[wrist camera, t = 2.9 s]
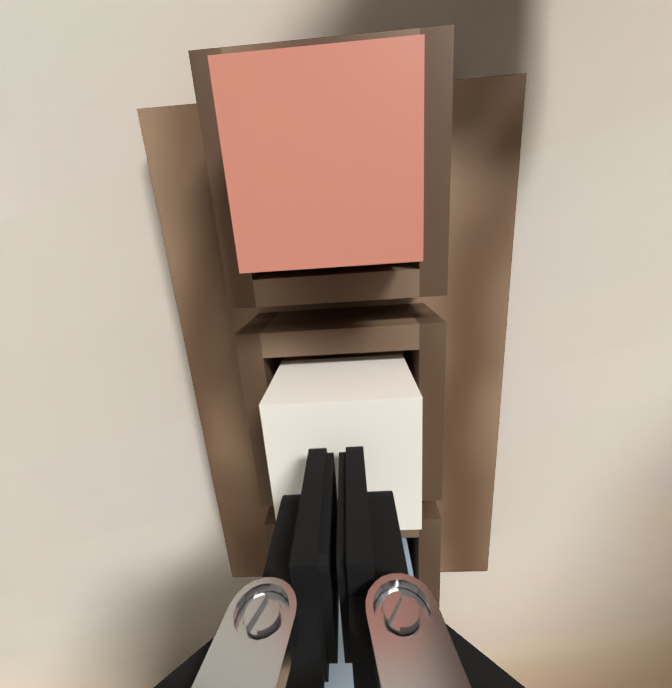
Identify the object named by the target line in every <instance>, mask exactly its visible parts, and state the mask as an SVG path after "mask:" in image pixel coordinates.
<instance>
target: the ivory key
mask: <svg viewBox="0 0 672 688" xmlns="http://www.w3.org/2000/svg"><path fill="white" fill-rule="evenodd" d="M422 405H423V397H422V395H421V393H420V391H419V389H418V387H417V384H416V382H415V380H414V378H413V376H412V374H411V372H410V370H409V368H408V365H407V363H406V361H405V359H404V357H403V355H402V354H398V355H380V356H362V357H343V358H325V359H307V360H288V361H282V362H281V364H280V366H279V368H278V369H277V371H276V373H275V375H274V377H273V379H272V381H271V383H270V385H269V387H268V389H267V390H266V392H265V394H264V396H263V398H262V400H261V402H260V404H259V409H260V416H261V423H262V430H263V437H264V443H265V450H266V457H267V464H268V471H269V477H270V484H271V491H272V498H273V504H274V511H275V518H276V519H277V515H278V511H279V506H280V502H281V499H282V496H283V495H295V494H301V491H302V485H303V479H304V473H305V467H306V461H307V456H308V450H309V449H313V448H327V453H332V452H333V453H334V462H335V474H336V486H337V499H338V469H339V452H346V447H356V446H363V450H364V461H365V472H366V483H367V492H369V491H392V492H393V496H394V501H395V506H396V511H397V516H398V521H399V527H400V530H420V529H422Z"/></svg>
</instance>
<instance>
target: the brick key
mask: <svg viewBox="0 0 672 688" xmlns="http://www.w3.org/2000/svg"><path fill="white" fill-rule="evenodd" d="M424 52H425V34H421V35H411V36H400V37H390V38H380V39H370V40H360V41H350V42H339V43H329V44H319V45H309V46H299V47H288V48H278V49H268V50H258V51H248V52H238V53H227V54H217V55H207V56H208V63H209V70H210V77H211V83H212V90H213V97H214V104H215V111H216V117H217V124H218V131H219V138H220V145H221V151H222V158H223V165H224V172H225V179H226V185H227V192H228V199H229V206H230V212H231V219H232V226H233V233H234V240H235V246H236V253H237V260H238V267H239V274H240V273H255V272H270V271H285V270H300V269H315V268H330V267H344V266H359V265H374V264H389V263H404V262H419V261H423V229H424Z"/></svg>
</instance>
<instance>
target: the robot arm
mask: <svg viewBox="0 0 672 688" xmlns="http://www.w3.org/2000/svg"><path fill="white" fill-rule="evenodd" d="M339 602H340V613H341V625H342V636H343V647H344V659H345V663H352V668H353V681H354V688H525V687H524V686H522V685H521V684H520V683H519V682H517V681H516V680H515V679H514V678H512V677H511V676H510V675H509V674H508V673H506V672H505V671H504V670H503V669H501V668H500V667H499V666H498V665H496V664H495V663H494V662H493V661H491V660H490V659H489V658H488V657H486V656H485V655H484V654H483V653H481V652H480V651H479V650H478V649H476V648H475V647H474V646H473V645H472V644H470V643H469V642H468V641H467V640H465V639H464V638H463V637H462V636H460V635H459V634H458V633H457V632H455V631H454V630H453V629H452V628H450V627H449V626H448V625H447V624H445V622H444V619H443V617H442V614H441V612H440V609H439V607H438V604H437V602H436V600H435V598H434V596H433V594H432V593H431V591H430V589H429V588H428V587H427V586H426V585H425V584H424V583H423V582H422V581H420V580H418V579H416V578H415V577H413V576H410V575H409V574H408V568H407V563H406V558H405V553H404V548H403V542H402V537H401V532H400V527H399V521H398V516H397V511H396V506H395V501H394V496H393V492H392V491H369V492H367V483H366V472H365V461H364V450H363V446H356V447H346V452H339V469H338V499H337V486H336V474H335V462H334V453H333V452H332V453H327V448H313V449H309V450H308V456H307V461H306V467H305V473H304V479H303V485H302V491H301V494H295V495H283V496H282V499H281V502H280V506H279V511H278V515H277V519H276V523H275V527H274V531H273V535H272V539H271V544H270V548H269V552H268V556H267V560H266V564H265V568H264V572H263V577H262V578H260V579H257V580H254V581H252V582H250V583H249V584H247V585H246V586H244V587H243V588H242V589H241V590H240V591H239V592H238V593H237V594H236V595H235V596H234V598H233V600H232V601H231V603H230V605H229V606H228V609H227V611H226V613H225V615H224V617H223V620H222V622H221V624H220V626H219V628H218V630H217V633H216V635H215V637H214V638H213V639H211V640H210V641H209V642H208V643H207V644H205V645H204V646H203V647H202V648H201V649H199V650H198V651H197V652H196V653H195V654H193V655H192V656H191V657H190V658H189V659H187V660H186V661H185V662H184V663H183V664H181V665H180V666H179V667H178V668H177V669H176V670H174V671H173V672H172V673H171V674H170V675H168V676H167V677H166V678H165V679H164V680H162V681H161V682H160V683H159V684H158V685H156V686H155V687H154V688H324V683H325V682H329V664H337V663H338V625H339Z"/></svg>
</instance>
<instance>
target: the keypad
mask: <svg viewBox="0 0 672 688" xmlns="http://www.w3.org/2000/svg"><path fill="white" fill-rule="evenodd" d="M454 25H455V24H453V25H443V26H433V27H423V28H413V29H403V30H393V31H382V32H372V33H362V34H352V35H342V36H332V37H322V38H312V39H302V40H292V41H282V42H271V43H261V44H251V45H241V46H231V47H221V48H211V49H201V50H191V51H188V52H189V58H190V64H191V71H192V77H193V83H194V89H195V96H196V102H197V104H186V105H175V106H164V107H153V108H142V109H137V111H138V116H139V121H140V126H141V131H142V136H143V141H144V146H145V151H146V155H147V160H148V165H149V170H150V175H151V180H152V185H153V190H154V195H155V199H156V204H157V209H158V214H159V219H160V224H161V229H162V234H163V239H164V243H165V248H166V253H167V258H168V263H169V268H170V273H171V278H172V283H173V287H174V292H175V297H176V302H177V307H178V312H179V317H180V322H181V327H182V331H183V336H184V341H185V346H186V351H187V356H188V361H189V366H190V371H191V375H192V380H193V385H194V390H195V395H196V400H197V405H198V410H199V415H200V419H201V424H202V429H203V434H204V439H205V444H206V449H207V454H208V459H209V463H210V468H211V473H212V478H213V483H214V488H215V493H216V498H217V503H218V507H219V512H220V517H221V522H222V527H223V532H224V537H225V542H226V547H227V551H228V556H229V561H230V566H231V571H232V576H233V577H259V576H263V572H264V568H265V564H266V560H267V556H268V552H269V548H270V544H271V539H272V535H273V531H274V527H275V523H276V518H275V511H274V504H273V498H272V491H271V484H270V477H269V471H268V464H267V457H266V450H265V443H264V437H263V430H262V423H261V416H260V409H259V404H260V402H261V400H262V398H263V396H264V394H265V392H266V390H267V389H268V387H269V385H270V383H271V381H272V379H273V377H274V375H275V373H276V371H277V369H278V368H279V366H280V364H281V362H282V361H288V360H307V359H325V358H343V357H362V356H380V355H398V354H402V355H403V357H404V359H405V361H406V363H407V365H408V368H409V370H410V372H411V374H412V376H413V378H414V380H415V382H416V384H417V387H418V389H419V391H420V393H421V395H422V397H423V405H422V529H420V530H400V532H401V537H402V538H406V539H407V544H408V549H409V554H410V560H411V565H412V570H413V575H414V577H415V578H416V579H418V580H420V581H422V582H423V583H424V584H425V585H426V586H427V587H428V588H429V589H430V591H431V593H432V594H433V596H434V598H435V600H436V602H437V604H438V607H439V596H440V572H463V571H487V569H488V556H489V543H490V530H491V518H492V505H493V492H494V479H495V467H496V454H497V441H498V428H499V416H500V403H501V390H502V377H503V364H504V352H505V339H506V326H507V313H508V301H509V288H510V275H511V262H512V250H513V237H514V224H515V211H516V199H517V186H518V173H519V160H520V148H521V135H522V122H523V109H524V97H525V84H526V73H525V74H514V75H503V76H492V77H481V78H470V79H459V80H453V63H454ZM421 34H425V52H424V229H423V261H419V262H404V263H389V264H374V265H359V266H344V267H330V268H315V269H300V270H285V271H270V272H255V273H240V274H239V267H238V260H237V253H236V246H235V240H234V233H233V226H232V219H231V212H230V206H229V199H228V192H227V185H226V179H225V172H224V165H223V158H222V151H221V145H220V138H219V131H218V124H217V117H216V111H215V104H214V97H213V90H212V83H211V77H210V70H209V63H208V56H207V55H217V54H227V53H238V52H248V51H258V50H268V49H278V48H288V47H299V46H309V45H319V44H329V43H339V42H350V41H360V40H370V39H380V38H390V37H400V36H411V35H421Z"/></svg>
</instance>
